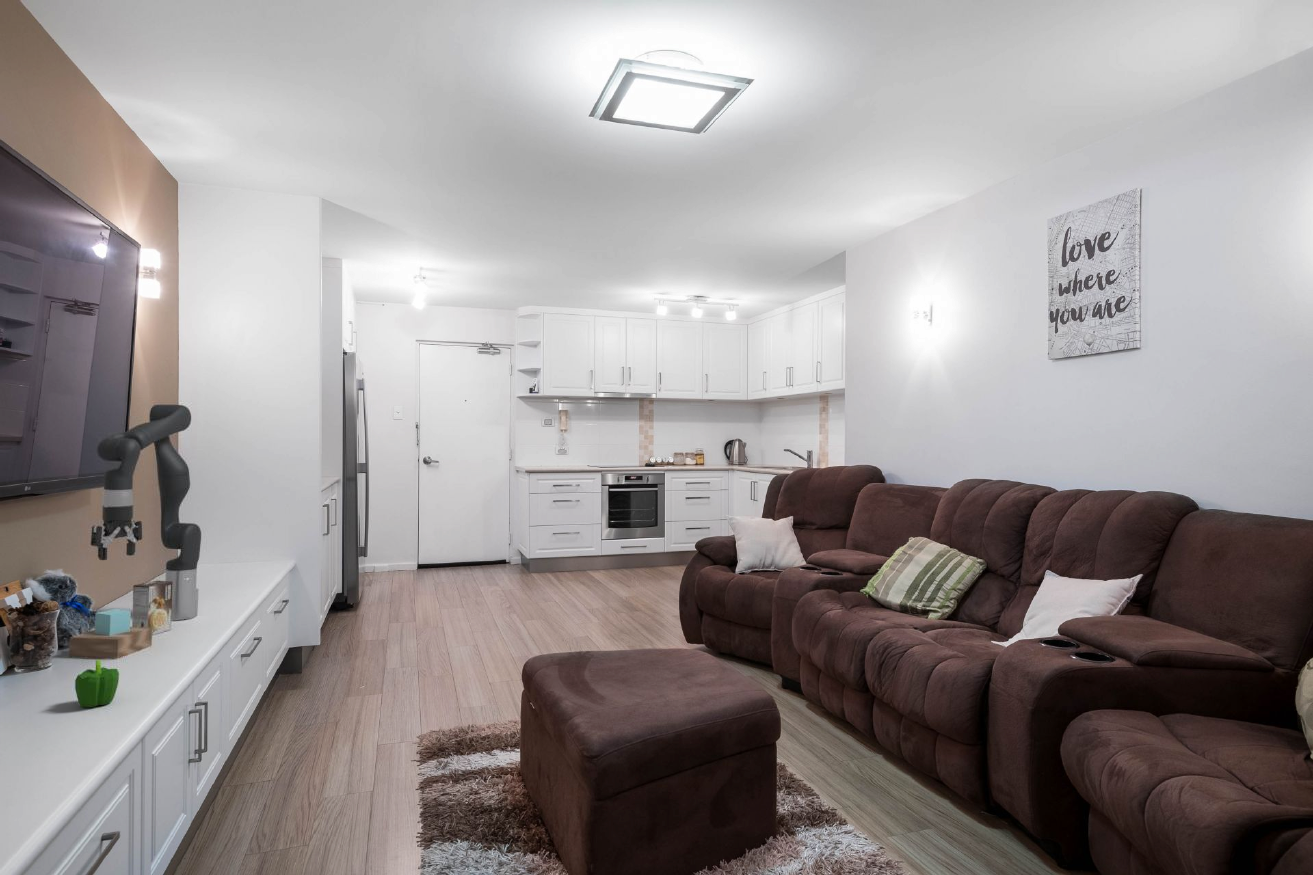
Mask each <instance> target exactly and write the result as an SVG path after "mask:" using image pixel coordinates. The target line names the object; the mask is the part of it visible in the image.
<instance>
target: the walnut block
mask: <svg viewBox="0 0 1313 875" xmlns="http://www.w3.org/2000/svg"><path fill="white" fill-rule="evenodd" d="M152 639H153V635H152V628H149V627H132V626H130V631H128V632H124V633H119V634H115V635H111V636H108V635H102V634H95V629H93V630H92V629H91V630H90V631H86V632H83V633H80V634H76V635H74V636H71V637H69V648H68V650H69V652H68V658H72V657H84V658H83V659H98V658H117V659H116V660H119V659H122V658H124V657H127V656H129V654H130V655H131V654H134V653H137V652H140V651H142V649H143V650H145V649H148V648H150V647H152V641H153V640H152ZM123 656H124V657H123ZM85 657H87V658H85ZM121 657H122V658H121ZM118 658H119V659H118Z"/></svg>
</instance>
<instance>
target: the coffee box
mask: <svg viewBox="0 0 1313 875" xmlns="http://www.w3.org/2000/svg"><path fill="white" fill-rule="evenodd" d="M172 584H173V582H172V581H165V580H153V581H147V582H142V583H138V584H133V585H132V586H133V588H132V589H133V590H132V592H133V593H132V614H131V615H132V619H131V621H132V624H131V627H149V628H152V636H154V635H158V634H161V633H164V632H168V631H171V630H172V620H171V619H172Z"/></svg>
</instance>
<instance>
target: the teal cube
mask: <svg viewBox="0 0 1313 875" xmlns="http://www.w3.org/2000/svg"><path fill="white" fill-rule="evenodd" d="M131 613H132V612H131V610H127V609H120V608H114V609H108V610H104V611H98V612H95V615H94V616H95V617H94V618H95V619H94V620H95V621H94V630H95V634H102V635H108V636H111V635H115V634H119V633H124V632H128V631H130V627H131V615H132V614H131Z"/></svg>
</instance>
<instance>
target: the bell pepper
mask: <svg viewBox="0 0 1313 875" xmlns="http://www.w3.org/2000/svg"><path fill="white" fill-rule="evenodd" d="M119 677H120V672H119V670H118V669H117V668H107V667H104V666H103V667H102V661H101V659H98V660H97V659H96V661H95V669H91V668H89V669H86V670H85V671H83V672H82V673H81V674H80V673H79V674H78V675H77V676H76V678H75V680H74V689H75V690H74V691H75V694H76V698H77V701H78V703H79V704H80V706H81V707H83V708H93V707H98V706H104V705H105V706H106V705H110V703H112V701H114V698H115V695H116V692H117V688H118V686H119Z"/></svg>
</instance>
